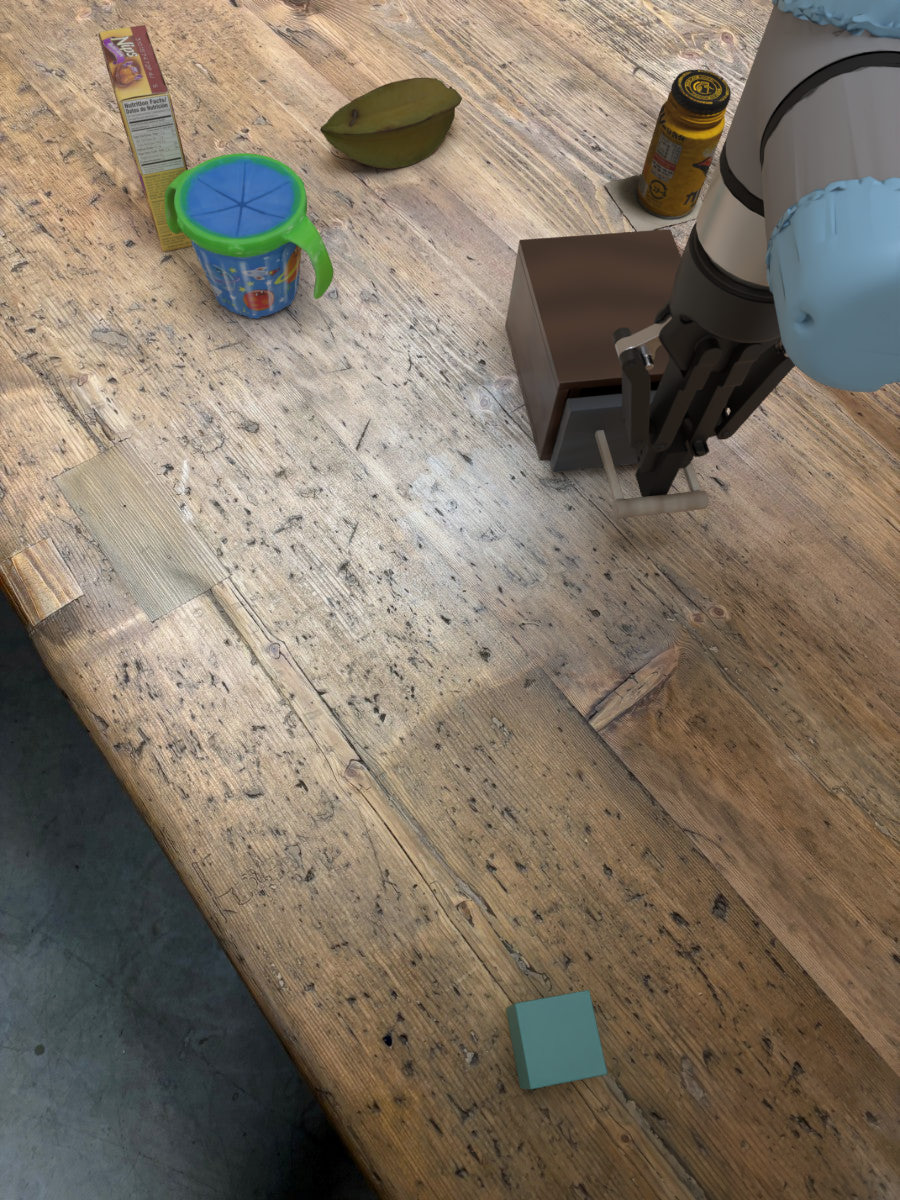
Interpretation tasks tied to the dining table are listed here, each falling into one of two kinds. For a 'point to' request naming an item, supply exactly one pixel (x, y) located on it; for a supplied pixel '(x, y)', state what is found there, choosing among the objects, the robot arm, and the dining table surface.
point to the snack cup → (248, 230)
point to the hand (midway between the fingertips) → (649, 488)
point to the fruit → (394, 123)
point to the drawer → (612, 450)
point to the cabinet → (582, 314)
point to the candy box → (146, 121)
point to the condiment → (676, 154)
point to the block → (555, 1040)
